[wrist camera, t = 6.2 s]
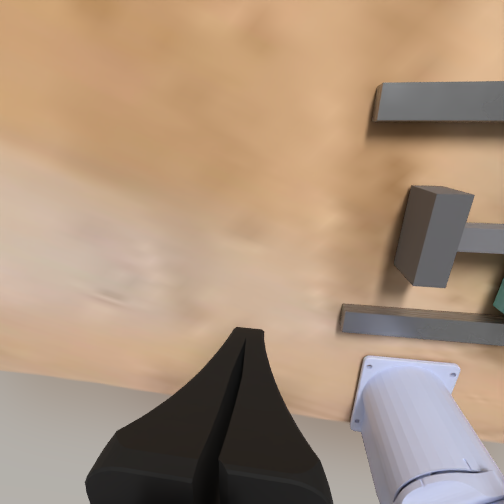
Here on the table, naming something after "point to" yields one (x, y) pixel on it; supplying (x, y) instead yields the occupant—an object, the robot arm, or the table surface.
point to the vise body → (432, 110)
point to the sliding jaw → (442, 236)
